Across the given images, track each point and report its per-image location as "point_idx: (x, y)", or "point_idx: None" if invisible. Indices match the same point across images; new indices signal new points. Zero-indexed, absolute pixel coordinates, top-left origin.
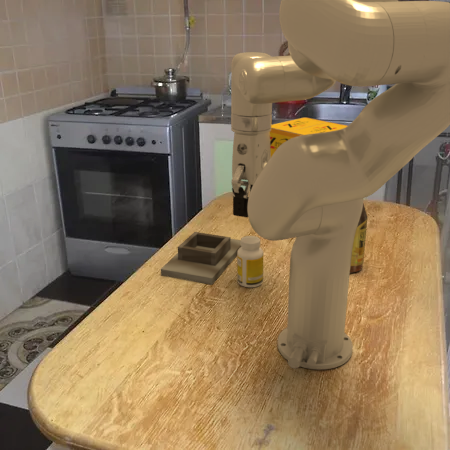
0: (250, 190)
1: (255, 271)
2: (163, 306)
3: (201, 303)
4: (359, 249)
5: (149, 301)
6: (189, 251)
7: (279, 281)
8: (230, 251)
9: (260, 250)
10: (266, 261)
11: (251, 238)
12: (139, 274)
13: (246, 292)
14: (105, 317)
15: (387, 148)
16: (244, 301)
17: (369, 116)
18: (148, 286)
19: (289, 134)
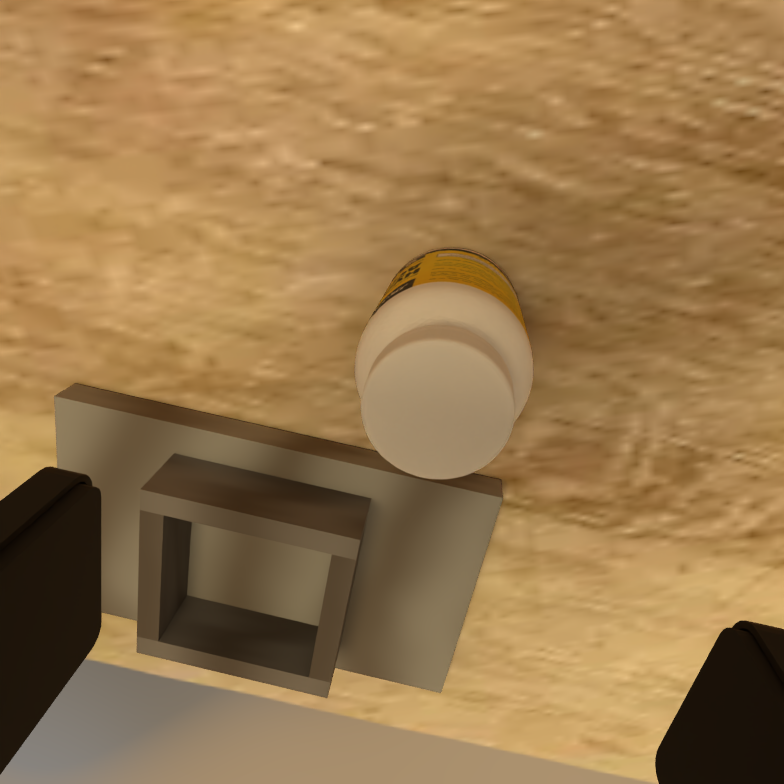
0: (31, 727)
1: (516, 303)
2: (700, 626)
3: (675, 498)
4: None
5: (659, 674)
6: (339, 642)
7: (419, 152)
8: (199, 450)
9: (452, 311)
10: (203, 252)
11: (413, 408)
12: (447, 731)
13: (561, 318)
14: None
15: None
16: (654, 317)
17: None
18: (539, 693)
19: None
